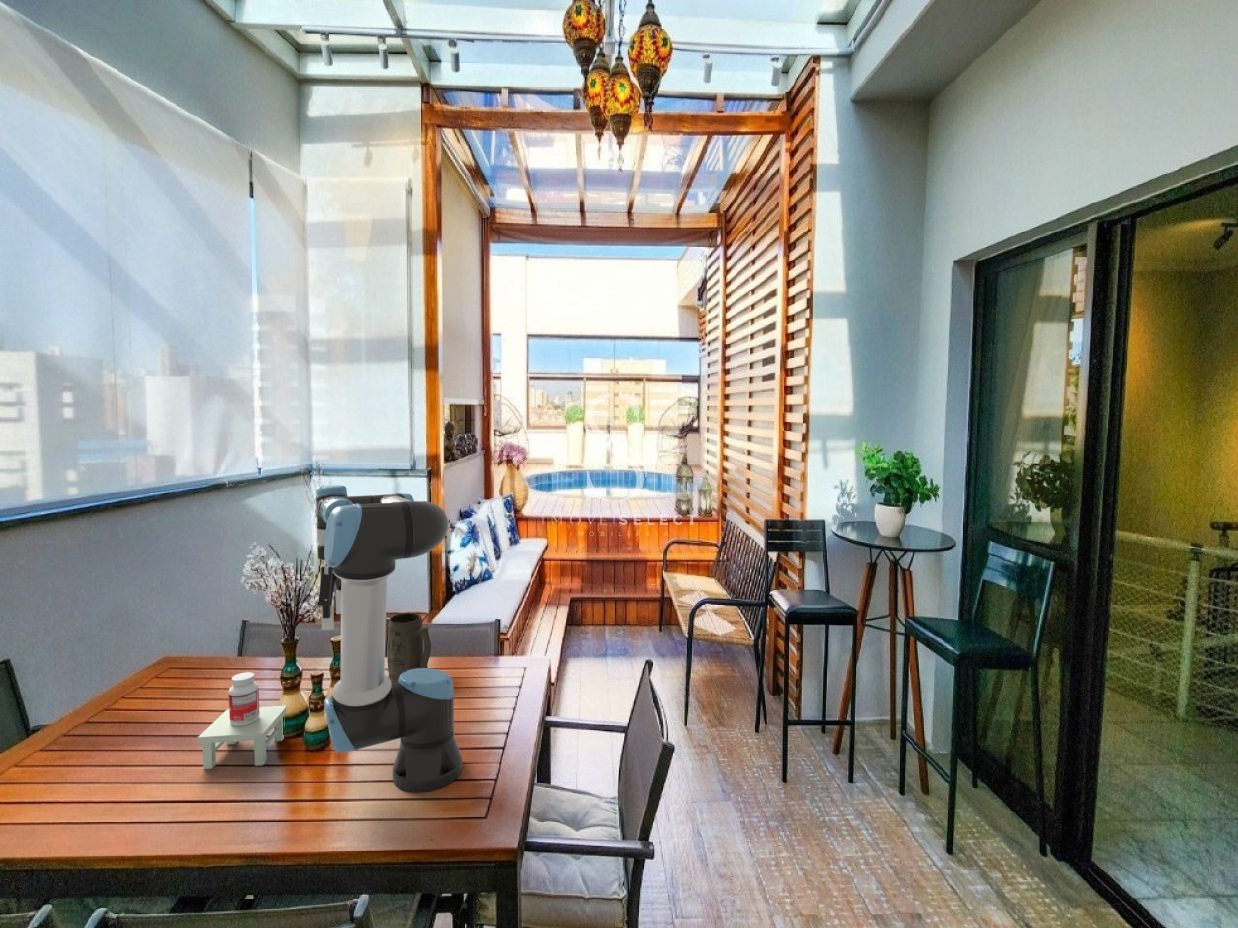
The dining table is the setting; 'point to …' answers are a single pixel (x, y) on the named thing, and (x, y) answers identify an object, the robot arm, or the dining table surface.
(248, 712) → the pill bottle
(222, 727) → the footstool
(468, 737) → the dining table surface
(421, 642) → the beer stein
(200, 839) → the dining table surface
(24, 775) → the dining table surface
